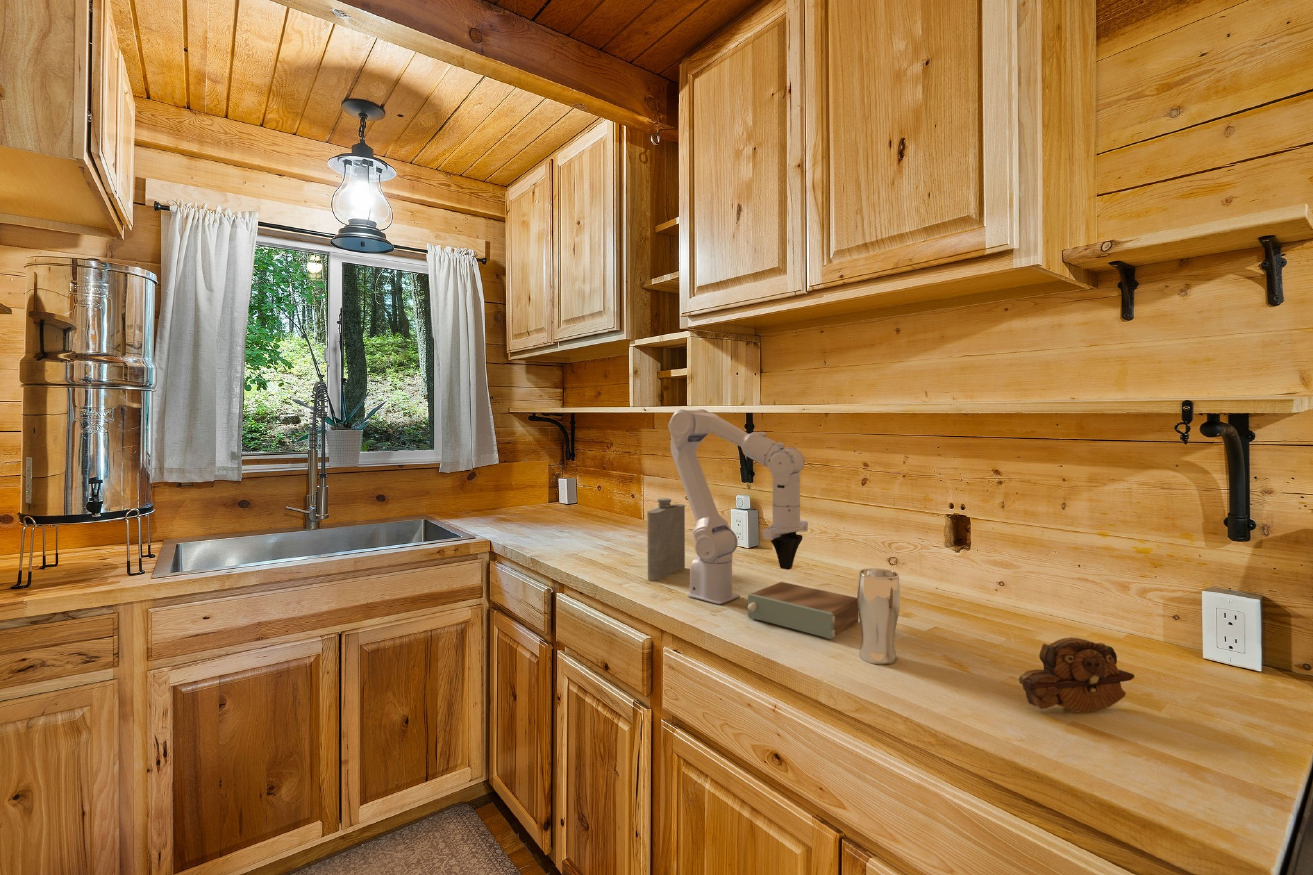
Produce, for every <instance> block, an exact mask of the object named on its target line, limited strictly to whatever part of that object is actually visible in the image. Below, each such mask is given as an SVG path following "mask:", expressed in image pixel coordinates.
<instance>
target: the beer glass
mask: <svg viewBox="0 0 1313 875" xmlns="http://www.w3.org/2000/svg"><path fill="white" fill-rule="evenodd" d="M857 580H858V581H857V592H856V593H857V594H856V596H857V597H856V598H857V601H858V618H859V623H860V627H861V644H860V648H859V649H860V650H859V658H860V659H861V660H862V661H864V662H866V663H869V664H873V665H879V666H880V665H881V666H887V665H892V664H895V663H896V662H897V652H896V646H895V634H896V629H897V623H898V619H899V614H900V606H901V589H900V574H899V573H898V572H897V571H895V570H892V569H886V568H881V567H879V568H877V567H868V568H863V569H860V570H859V571H858V578H857Z"/></svg>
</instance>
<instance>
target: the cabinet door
mask: <svg viewBox="0 0 1313 875" xmlns="http://www.w3.org/2000/svg"><path fill="white" fill-rule="evenodd" d="M747 598H748V599H747V617H749V618H753V619H756V620H759V621H764V622H767V623H770V624H774V625H778V626H780V627H781V626H782V627H785V628H790V629H793V630H796V631H800V632H805V633H807V634H812V635H816V636H818V637H822V638H823V637H824V638H827V639H831V640H832V639H833V638H835V637H836V636H835V630H834V623H835V616H834V613H831V612H827V611H822V610H818V609H814V608H810V607H805V606H801V605H797V604H793V603H788V602H784V601H780V600H776V599H772V598H767V597H763V596H759V595H755V594H751V593H750V594H748V595H747Z"/></svg>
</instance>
